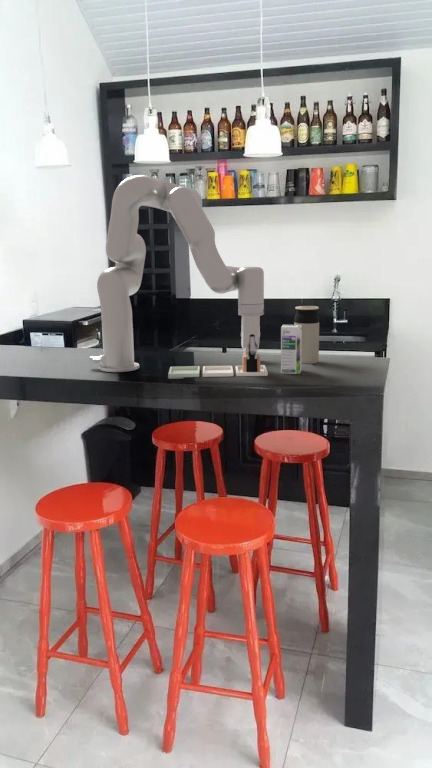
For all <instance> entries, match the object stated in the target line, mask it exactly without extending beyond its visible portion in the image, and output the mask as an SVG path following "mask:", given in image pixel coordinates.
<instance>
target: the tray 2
mask: <svg viewBox="0 0 432 768" xmlns="http://www.w3.org/2000/svg"><path fill="white" fill-rule="evenodd" d="M234 374H235V373H234V369H233V365H203V366H202V378H211V377H212V378H213V377H220V378H221V377H234Z"/></svg>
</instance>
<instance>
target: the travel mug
mask: <svg viewBox="0 0 432 768" xmlns="http://www.w3.org/2000/svg"><path fill="white" fill-rule="evenodd" d="M319 307H320V306H316V305H299V306H295V311H296V314H295V315H294V320H293V323H294V324H293V325H302V354H301V364H311V365H315V364H317V363H319V359H320V358H319V355H320V353H319V352H320V350H319V349H320V316H319V314H318V311H319V309H320V308H319Z"/></svg>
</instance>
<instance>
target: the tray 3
mask: <svg viewBox="0 0 432 768" xmlns="http://www.w3.org/2000/svg"><path fill="white" fill-rule="evenodd" d="M234 369H235V374H236V377H268V375H269V373H268V370H267V367H266V365H265V364H260V372H243V371H242V365H235V368H234Z"/></svg>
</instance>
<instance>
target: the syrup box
mask: <svg viewBox="0 0 432 768" xmlns="http://www.w3.org/2000/svg"><path fill="white" fill-rule="evenodd" d="M301 354H302V325H294V324H282V326H281V327H280V374H289V375H290V374H291V375H293V374H295V375H296V374H298V375H300V374H301V372H302V363H301Z"/></svg>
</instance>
